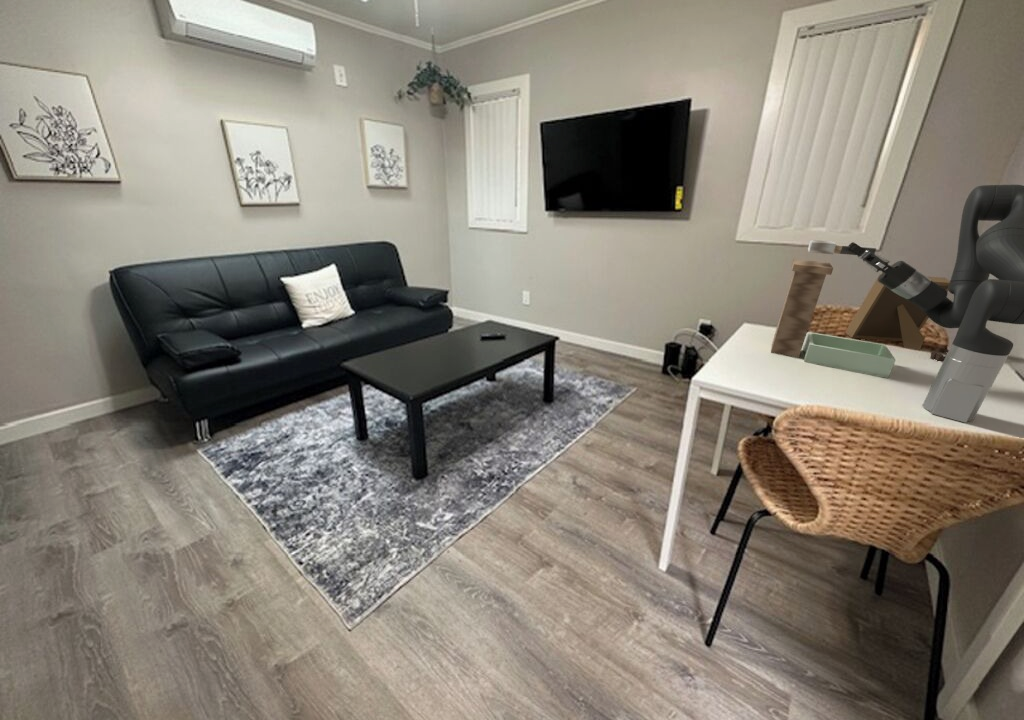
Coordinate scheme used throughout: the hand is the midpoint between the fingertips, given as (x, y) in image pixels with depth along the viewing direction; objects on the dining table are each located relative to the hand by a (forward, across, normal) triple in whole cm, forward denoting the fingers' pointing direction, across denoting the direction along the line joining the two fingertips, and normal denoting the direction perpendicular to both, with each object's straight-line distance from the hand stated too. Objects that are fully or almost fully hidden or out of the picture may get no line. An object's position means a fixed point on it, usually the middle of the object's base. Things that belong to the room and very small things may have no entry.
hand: (850, 245), depth 122 cm
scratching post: (-11, 0, -36) cm, 37 cm away
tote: (-25, 0, -28) cm, 37 cm away
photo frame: (-40, +37, -19) cm, 58 cm away
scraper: (+1, 0, -4) cm, 4 cm away
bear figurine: (-54, +26, -11) cm, 61 cm away
